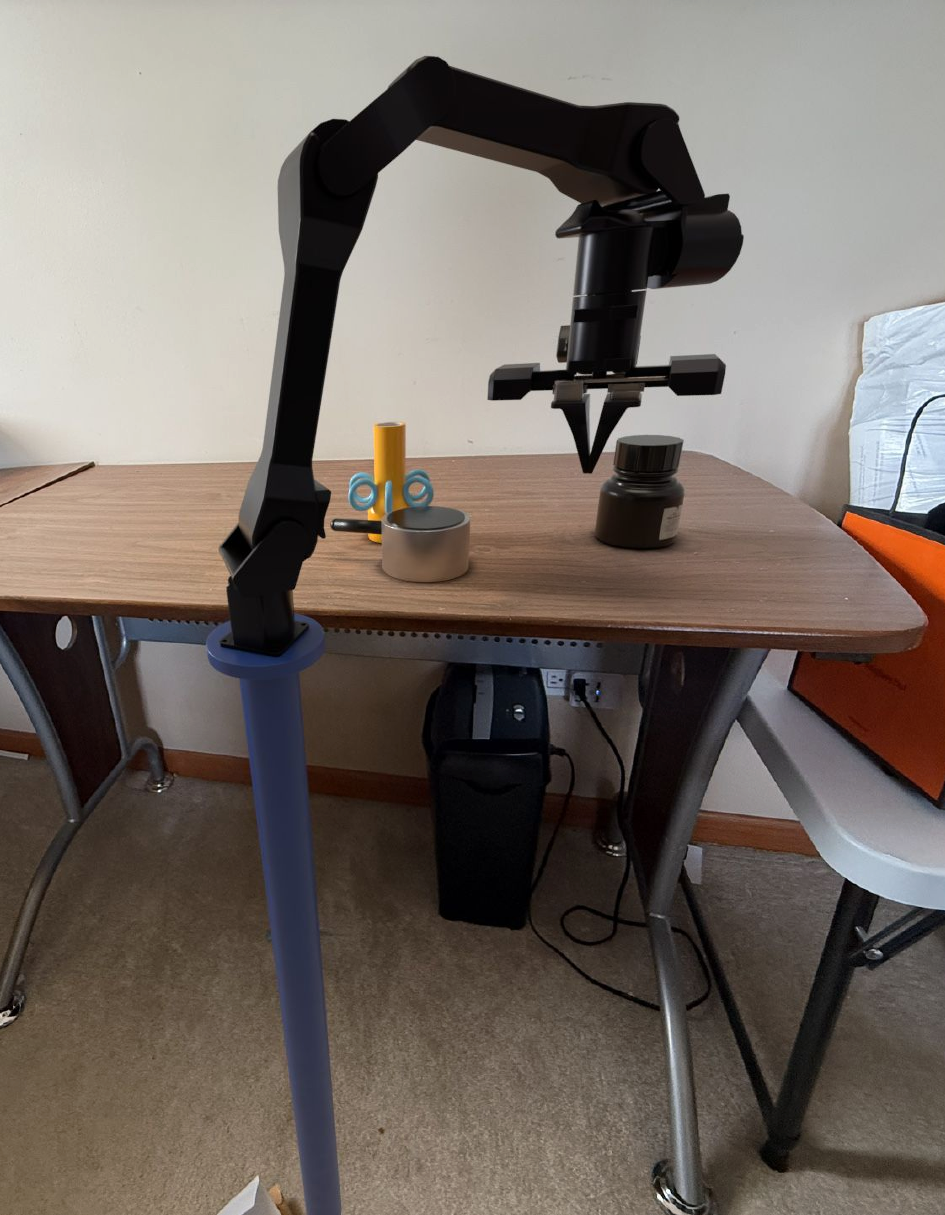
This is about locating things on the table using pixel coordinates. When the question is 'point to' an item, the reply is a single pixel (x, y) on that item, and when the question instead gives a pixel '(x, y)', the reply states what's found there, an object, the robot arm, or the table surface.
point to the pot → (418, 541)
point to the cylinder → (389, 477)
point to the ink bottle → (642, 493)
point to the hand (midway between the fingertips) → (587, 472)
